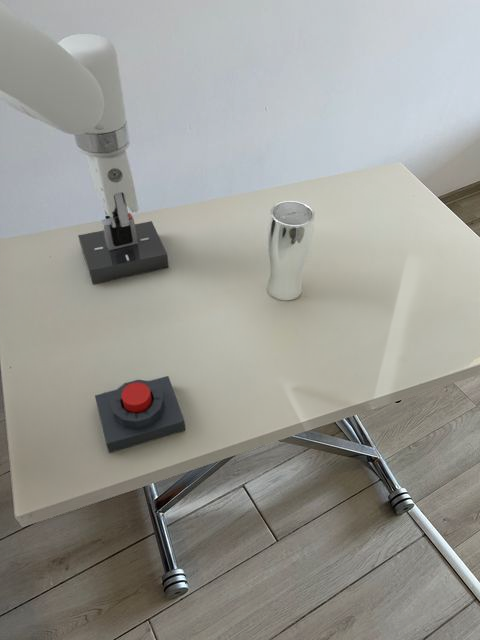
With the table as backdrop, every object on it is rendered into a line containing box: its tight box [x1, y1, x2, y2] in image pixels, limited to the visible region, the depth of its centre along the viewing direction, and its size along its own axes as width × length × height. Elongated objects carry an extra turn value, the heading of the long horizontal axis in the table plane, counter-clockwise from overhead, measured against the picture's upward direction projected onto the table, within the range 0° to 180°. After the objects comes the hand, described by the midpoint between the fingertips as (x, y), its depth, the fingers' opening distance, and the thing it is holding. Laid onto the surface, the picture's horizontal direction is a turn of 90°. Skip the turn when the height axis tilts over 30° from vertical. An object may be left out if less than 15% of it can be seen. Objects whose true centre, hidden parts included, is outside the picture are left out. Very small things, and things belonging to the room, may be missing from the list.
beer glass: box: [266, 200, 315, 302], centre depth 84 cm, size 7×7×15 cm
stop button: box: [121, 383, 152, 413], centre depth 68 cm, size 4×4×2 cm
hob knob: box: [100, 212, 138, 250], centre depth 89 cm, size 5×2×5 cm, turn 116°
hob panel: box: [78, 220, 170, 285], centre depth 92 cm, size 13×10×3 cm
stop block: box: [94, 375, 186, 454], centre depth 70 cm, size 10×8×4 cm
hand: (121, 238), depth 90 cm, fingers closed on hob knob, 2 cm apart
